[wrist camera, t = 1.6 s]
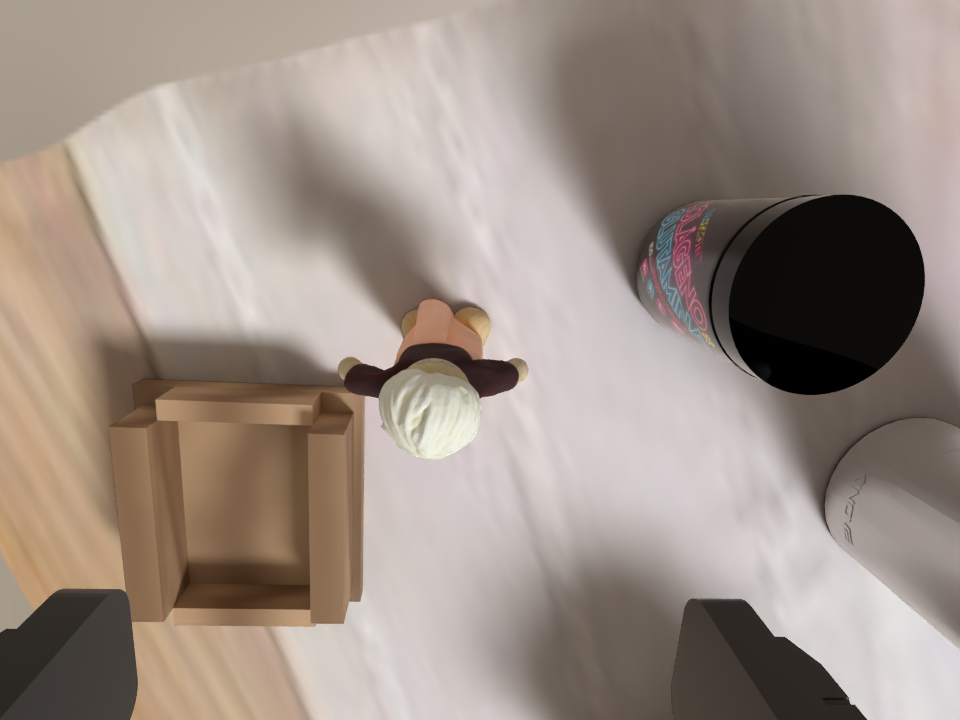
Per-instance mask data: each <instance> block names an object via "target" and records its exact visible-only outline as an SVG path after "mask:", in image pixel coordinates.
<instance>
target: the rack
mask: <svg viewBox="0 0 960 720" xmlns="http://www.w3.org/2000/svg"><path fill="white" fill-rule="evenodd" d="M133 396H134V406H135V410H134V411H132V412H131V413H129V414H128V415H126V416H125V417H123V418H122V419H120V420H119V421H117V422H115V423H114V424H112V425H111V426H109V437H110V446H111V456H112V465H113V475H114V484H115V493H116V503H117V512H118V522H119V531H120V541H121V550H122V560H123V569H124V578H125V588H126V594H127V596H128V599H129V603H130V612H131V621H132V622H164V620H165V619H166V618H167V616H168V615H169V613H170V612H171V610H172V609H173V616H174V625H200V626H305V627H315V626H316V623H318V624H344V620H345V616H346V611H347V607H348V603H349V601H351V602H360V600H361V595H362V590H363V501H364V408H365V396H363V395H356V394H353V393H351V392H349V391H348V390H347V389H346V388H345V387H334V386H308V385H282V384H257V383H231V382H206V381H180V380H155V379H142V380H140V381H139V382H137V383H135V384H133Z"/></svg>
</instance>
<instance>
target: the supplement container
mask: <svg viewBox="0 0 960 720" xmlns="http://www.w3.org/2000/svg"><path fill="white" fill-rule="evenodd" d="M636 285H637V290H638V294H639V297H640V299H641V302H642V304H643V306H644V307H645V309H646V310H647V312H648V313H649V314H650V316H651V317H652V318H653V319H654V320H655V321H656V322H658V323H659V324H660V325H662V326H663V327H665V328H667V329H669V330H671V331H672V332H674V333H676V334H678V335H680V336H682V337H684V338H685V339H687V340H689V341H691V342H693V343H695V344H697V345H699V346H700V347H702V348H704V349H706V350H708V351H710V352H712V353H713V354H715V355H717V356H719V357H721V358H723V359H725V360H727V361H728V362H730V363H732V364H734V365H735V366H736V367H738V368H739V369H740V370H742V371H744V372H746V373H747V374H749V375H751V376H753V377H756V378H758V379H760V380H762V381H764V382H766V383H768V384H769V385H771V386H773V387H776V388H778V389H780V390H783V391H787V392H790V393H795V394H804V395H819V394H827V393H831V392H836V391H839V390H842V389H846V388H848V387H850V386H853V385H855V384H857V383H859V382H861V381H863V380H865V379H866V378H868V377H869V376H871V375H872V374H874V373H875V372H876V371H878V370H879V369H880V368H882V367H883V366H884V365H885V364H886V363H887V362H888V361H889V360H890V359H891V358H892V357H893V356H894V355H895V354H896V352H897V351H898V350H899V349H900V347H901V346H902V345H903V343H904V342H905V340H906V339H907V337H908V336H909V334H910V332H911V330H912V328H913V326H914V324H915V322H916V319H917V317H918V314H919V311H920V308H921V304H922V300H923V294H924V286H925V272H924V263H923V258H922V254H921V251H920V247H919V245H918V243H917V240H916V238H915V236H914V234H913V233H912V231H911V230H910V228H909V227H908V225H907V224H906V223H905V222H904V221H903V220H902V219H901V218H900V217H899V216H898V215H897V214H896V213H895V212H894V211H892V210H891V209H890V208H888V207H886V206H885V205H883V204H881V203H879V202H877V201H874V200H872V199H868V198H865V197H861V196H855V195H801V196H795V197H788V198H759V199H730V200H704V201H696V202H692V203H688V204H685V205H683V206H680V207H678V208H676V209H674V210H673V211H671V212H670V213H668V214H667V215H665V216H664V217H663V218H662V219H661V220H660V221H659V222H658V223H657V224H656V225H655V226H654V227H653V228H652V229H651V231H650V232H649V234H648V235H647V237H646V239H645V240H644V242H643V245H642V247H641V249H640V252H639V255H638V259H637V265H636Z"/></svg>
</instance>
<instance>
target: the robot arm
mask: <svg viewBox="0 0 960 720" xmlns="http://www.w3.org/2000/svg"><path fill="white" fill-rule="evenodd" d="M825 515H826V522H827V525H828V527H829V530H830V532H831V535H832V536H833V538H834V539H835V540H836V542H837V543H838V545H839V546H840V547H841V548H843V549H844V550H845V551H846V552H847V553H848V554H850V555H851V556H852V557H853V558H854V559H855V560H857V561H858V562H859V563H860V564H861V565H862V566H863V567H865V568H866V569H867V570H868V571H869V572H870V573H872V574H873V575H874V576H875V577H876V578H877V579H879V580H880V581H881V582H882V583H883V584H884V585H886V586H887V587H888V588H889V589H890V590H891V591H892V592H893V593H894V594H895V595H897V596H898V597H899V598H900V599H901V600H902V601H904V602H905V603H906V604H907V605H908V606H910V607H911V608H912V609H913V610H914V611H915V612H917V613H918V614H919V615H920V616H921V617H922V618H924V619H925V620H926V621H927V622H928V623H929V624H931V625H932V626H933V627H934V628H935V629H936V630H938V631H939V632H940V633H941V634H942V635H943V636H945V637H946V638H947V639H948V640H949V641H950V642H952V643H953V644H954V645H955V646H956V647H958V648H959V649H960V428H959V427H956V426H954V425H952V424H949V423H947V422H943V421H940V420H936V419H932V418H910V419H904V420H898V421H895V422H893V423H890V424H887V425H884V426H882V427H880V428H878V429H876V430H875V431H873V432H871V433H869V434H868V435H866V436H865V437H864V438H862V439H861V440H860V441H859V442H857V443H856V444H855V445H854V446H853V447H852V448H851V449H850V450H849V451H848V452H847V454H846V455H845V456H844V457H843V458H842V459H841V461H840V462H839V464H838V466H837V467H836V469H835V471H834V473H833V474H832V476H831V479H830V482H829V485H828V488H827V491H826V499H825ZM137 687H138V679H137V669H136V659H135V650H134V640H133V631H132V621H131V612H130V603H129V599H128V596H127V594H126V593H125V592H124V591H123V590H120V589H61V590H58V591H56V592H55V593H53V594H52V595H51V596H50V597H49V598H48V599H47V600H46V601H45V602H44V603H43V604H42V605H41V606H40V607H39V608H38V609H37V610H36V611H35V612H34V613H33V614H32V615H31V616H30V617H29V618H27V619H26V620H25V622H23V624H21V626H19V627H18V628H17V629H6V630H4V631H3V632H1V633H0V720H130V718H131V716H132V713H133V709H134V705H135V701H136V696H137ZM671 700H672V708H673V714H674V719H675V720H867V719H866V718H865V717H864V715H863V714H862V713H861V712H860V711H859V709H858V708H857V707H856V706H855V705H851V704H850V702H849V697H848V696H847V695H846V694H845V692H844V691H843V690H842V689H841V688H840V686H839V685H838V684H837V683H836V682H835V680H834V679H833V678H832V677H831V676H830V674H829V673H828V672H827V671H826V670H825V668H824V667H823V666H822V665H821V664H820V663H819V662H817V661H816V660H815V659H813V658H812V657H811V656H809V655H808V654H807V653H805V652H804V651H803V650H801V649H800V648H799V647H797V646H796V645H795V644H793V643H792V642H791V641H789V640H788V639H787V638H785V637H774V635H773V634H772V633H771V632H770V630H769V629H768V628H767V626H766V625H765V624H764V623H763V621H762V620H761V619H760V617H759V616H758V615H757V613H756V612H755V611H754V610H753V608H752V607H751V606H750V605H749V604H748V603H747V602H746V601H744V600H742V599H694V598H693V599H690V600H689V601H688V602H687V604H686V606H685V609H684V614H683V619H682V625H681V631H680V637H679V643H678V649H677V654H676V660H675V666H674V672H673V678H672V685H671Z"/></svg>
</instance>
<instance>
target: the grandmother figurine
mask: <svg viewBox="0 0 960 720" xmlns="http://www.w3.org/2000/svg"><path fill="white" fill-rule="evenodd" d="M401 328H402V333H403V337H404V340H403V342H402V344H401V346H400V348H399V351H398V353H397V358H396V360H395V364H394V366H393V367H391V368H389V369H387V370H382V369H379V368H377V367H375V366H370V365H367V364H363V363H361V362H360V361H359V360H358V359H356V358H354V357H347V358H345V359H343V360H342V361H341V362H340V363H339V365H338V373H339V375H340V377H341V378H342V379H343V380H344V386H345V388H346V389H347V390H348V391H349V392H351V393H353V394H356V395H363V396H371V397H376V398H379V409H380V415H381V418H382V421H383V425H381V427H382V428H383V429H384V431H386V432H387V433H388V434H389V435H390V436H391V437H392V439H393V440H394V441H395V442H396V444H397V445H398V447H399V448H401V449H402V450H403V451H405V452H407V453H408V454H409V455H412V456H415V457H422V458H425V459H430V460H432V459H441V458H444V457H446V456H448V455H450V454H453V453H455V452H457V451H458V450H459V449H461V448H462V447H464V446H466V445H467V444H468V443H470V442H471V441H472V440H473V439H474V437H475V436H476V433H477V431H478V428H479V423H480V416H481V404H480V398H482V397H487V396H493V395H496V394H498V393H501V392H504V391H508V390H510V389H513V388H514V387H515V386H516V384H518V383H519V382H521V381H523V380H524V379H525V378H526V377H527V374H528V366H527V364H526V362H525V361H523V360H522V359H519V358H513V359H511V360H509V361H506V362H505V361H502V360H500V361H499V360H489V359H487V360H486V359H483V346H484V343H485V341H486V339H487V337H488V335H489V332H490V329H491V322H490V318H489V317H488V315H487V314H486V313H485V312H484V311H482V310H480V309H477V308H473V307H466V308H463V309H461V310H459V311H458V312H457V313H456V314H455V316H454V315H453V313H452V311H451V309H450V308H449V306H448V305H447V304H446V303H444V302H442V301H439V300H437V299H429V300H424V301H422V302H421V303H420V305H419V308H418V309H415V310H412V311H410V312H409V313H407V314H406V315H405V316H404V318H403V320H402V324H401Z"/></svg>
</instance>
